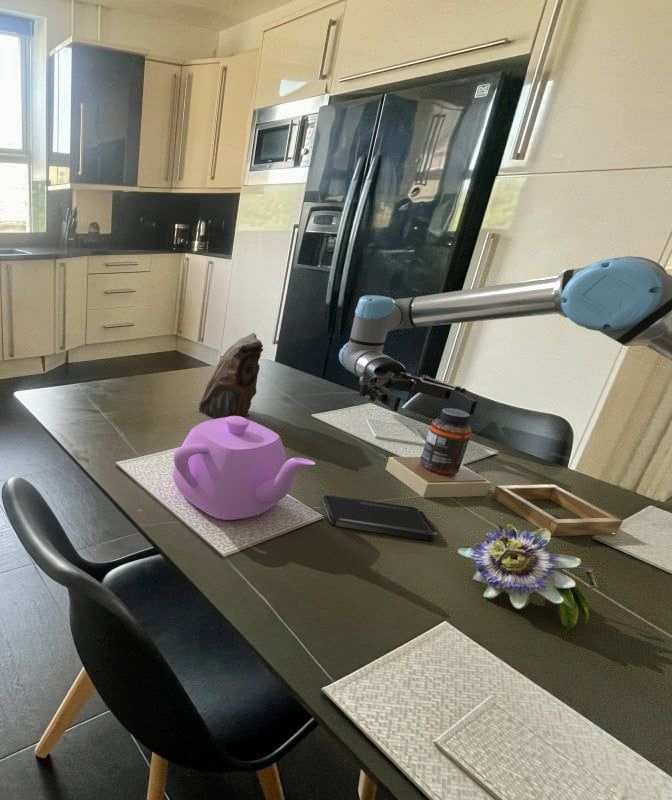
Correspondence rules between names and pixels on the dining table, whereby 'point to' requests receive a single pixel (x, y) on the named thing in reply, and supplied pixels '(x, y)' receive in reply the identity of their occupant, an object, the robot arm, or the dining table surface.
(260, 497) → the teapot
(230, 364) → the owl
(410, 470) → the stand
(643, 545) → the dining table surface
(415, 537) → the phone
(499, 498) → the rectangular wooden frame
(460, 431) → the supplement bottle
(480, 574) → the passion flower
